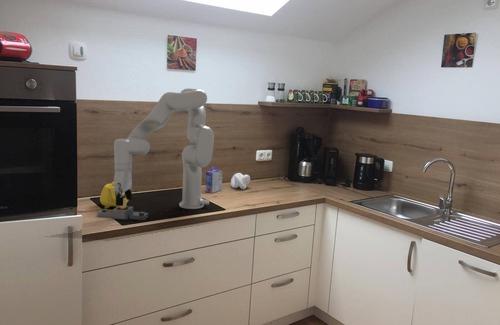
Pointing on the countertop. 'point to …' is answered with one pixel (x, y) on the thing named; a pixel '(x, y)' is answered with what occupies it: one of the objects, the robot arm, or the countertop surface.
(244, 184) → the white twisted lump
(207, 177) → the ink cartridge box
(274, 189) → the countertop surface
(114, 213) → the chain ends
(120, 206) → the pin
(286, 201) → the countertop surface
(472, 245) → the countertop surface
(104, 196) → the teapot
